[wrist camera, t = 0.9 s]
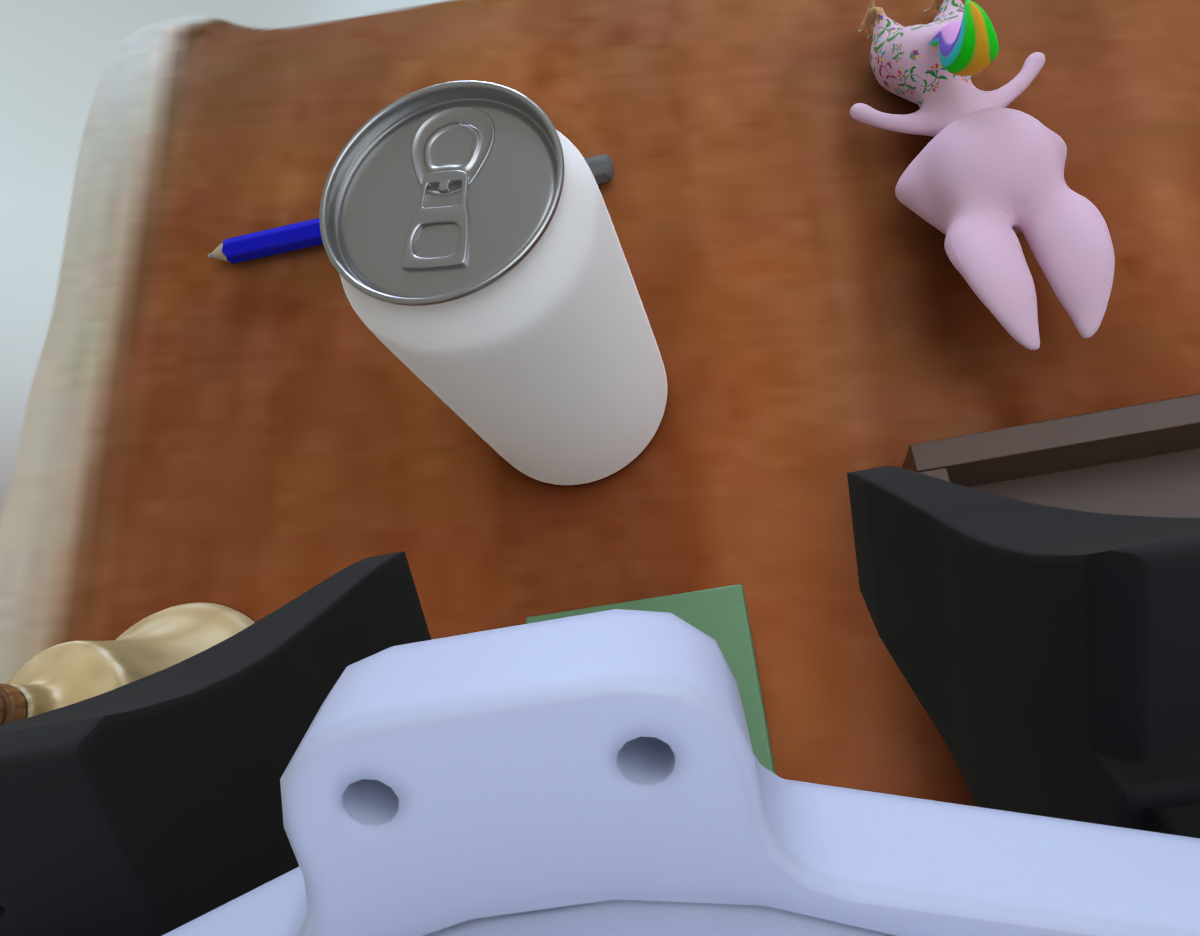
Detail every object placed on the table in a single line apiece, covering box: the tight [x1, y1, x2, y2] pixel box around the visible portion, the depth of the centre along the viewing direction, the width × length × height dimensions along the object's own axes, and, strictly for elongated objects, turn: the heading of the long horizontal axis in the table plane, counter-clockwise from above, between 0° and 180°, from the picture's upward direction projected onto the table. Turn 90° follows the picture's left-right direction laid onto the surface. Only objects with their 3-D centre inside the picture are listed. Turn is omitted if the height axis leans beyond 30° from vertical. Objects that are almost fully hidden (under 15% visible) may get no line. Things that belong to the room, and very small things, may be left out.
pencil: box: [208, 154, 614, 264], centre depth 33 cm, size 17×1×1 cm, turn 95°
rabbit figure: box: [850, 0, 1115, 350], centre depth 26 cm, size 6×6×15 cm
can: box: [319, 80, 667, 485], centre depth 24 cm, size 6×6×12 cm
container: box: [526, 584, 776, 774], centre depth 22 cm, size 7×5×6 cm
